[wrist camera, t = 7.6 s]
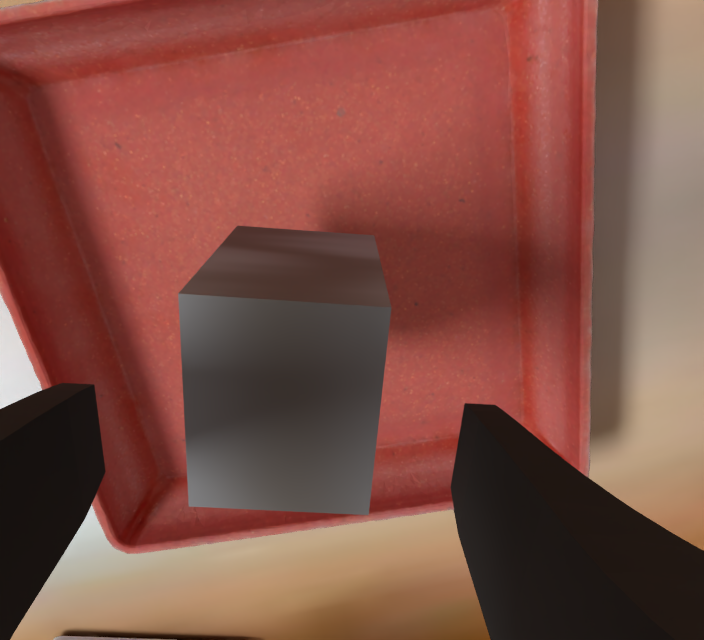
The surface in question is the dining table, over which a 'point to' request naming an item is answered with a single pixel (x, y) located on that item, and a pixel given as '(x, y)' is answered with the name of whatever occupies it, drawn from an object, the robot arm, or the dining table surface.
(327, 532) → the dining table surface
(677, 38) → the dining table surface
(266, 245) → the charcoal block
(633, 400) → the dining table surface
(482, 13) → the plant saucer
